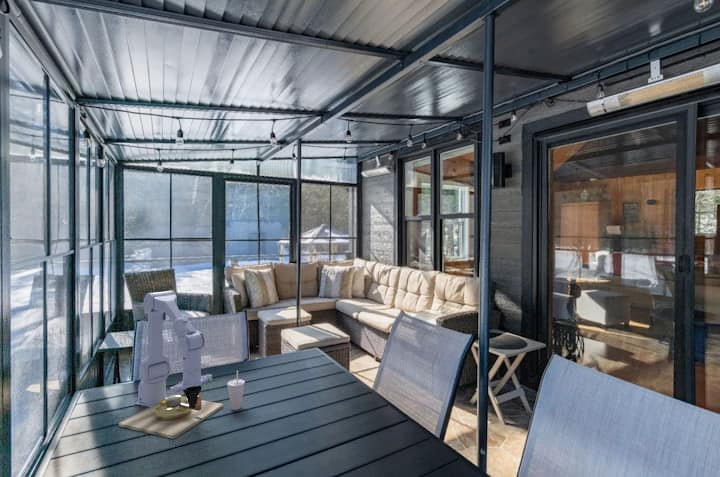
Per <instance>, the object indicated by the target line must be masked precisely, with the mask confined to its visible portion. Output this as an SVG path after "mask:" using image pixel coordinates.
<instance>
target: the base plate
mask: <svg viewBox="0 0 720 477" xmlns="http://www.w3.org/2000/svg"><path fill="white" fill-rule="evenodd" d="M176 395H177V394H174V395H173V394H172V395H170V396H168V397H167V399H166V406H169V407H173V406H177V405H179V404H180V403H181V397H183V396H182V395H181V397H179V396H176ZM185 397H186V396H185ZM186 398H187V397H186ZM201 400H202V407H201V410H199V411H197V410H193V409H192V411H191V412H190V413H189V414H188V415H186V416H184V417H182V418H179V419H175V420H169V421H163V420H158V419H156V418H155V406H156V405H157V404H158V403H157V404H155V405H153V406H151V407H147V408H145V409H143V410H142V411H140V412H138V413H136V414H133V415H132V416H130V417H127V418H125V419H124V420H123V421H120V422H118V427H121V428H124V429H129V430H133V431H137V432H141V433H146V434H151V435H155V436H160V437H164V438H167V439H173V440H174V439H176V438H178V437H179V436H181V435H182V434H184V433H185V432H187V431H188V430H190V429H191V428H194V427H195V426H197V424H199V423H201V422H202V421H204V420H206V419H207V418H209V417H211V415H213V414H215V413H216V412H218V411H219V410H221V409H222V408H224V404H223V403H219V402H214V401H208V400H203V399H201Z"/></svg>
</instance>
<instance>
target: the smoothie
mask: <svg viewBox="0 0 720 477" xmlns="http://www.w3.org/2000/svg"><path fill="white" fill-rule="evenodd" d="M245 382H246V381H245V380H244V379H241V378H240V379H239V370H236V379H235V378H234V379H232V380H229V381H228V382H227V383H226V384H227V385H226V386H227V387H226V388H227V389H228V396H229V403H230V405H229V406H230V410H232V411H238V410H240V409H241V408H242V404H243V397H244V389H245V388H244V386H245V385H246V383H245Z"/></svg>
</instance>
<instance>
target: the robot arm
mask: <svg viewBox="0 0 720 477" xmlns="http://www.w3.org/2000/svg"><path fill="white" fill-rule="evenodd" d="M177 304H178V296H177V293H176V292H175V291H174V290H172V289H171V290H167V291H166V290H165V291H159V292H158V291H157V292H148V293H146V294H145V295H144V297H143V313H144V314H146V315H147V340H148V341H147V342H148V343H147V345H148V348H147V349H148V354H147V355H146V357H144V358H143V359H142V360H141V361H140V366H139V370H138V375H139V380H140V382H139V384H138V388H137V394H138V395H137V396H138V397H137V402H136V405H137V406H142V407H147V408H149V407H151V406H153V405H155V404H157V403H159V401H160V400H162V399H167V398H168V397H167V386H166V384H167V381H166V380H167V379H168V377H169V375H171V372H172V366H171V361H170V357H169V356H168V355H166V354H164V345H163V342H164V341H163V340H164V336H163V334H164V333H163V332H164V331H163V328H164V327H163V315H164V314H166V315H167V317H168V318H169V320H170V321H171V323H173V324H172V325H171V328H172V331H174V334H175V335H176V337H177V339H178V340H179V342H178V343H179V350H180V354H181V357H182V381H180V382H178V383H177V384H175V385H173V386H171V387H170V388H169V390H170V391H169V393H170V394H171V395H172V396H173V395H177V393H178V392H179V393H180V392H183V393H184V396H185V397H187V399H188V402H189V407H190V408H192V409H193V408H195V403H196V400H197V397H198V395H200V392H201V391H202V388H203V387H202V384H204V383H207V382H211V381H213V375H212V374H209V373H207V374H205V375H202V349H203V348H204V347H205V343H206V342H205V336H204V335H203V332H201V331H198V330H196V329H195V327H194V326H193V325H192V323H191V322H190V320H189V318H187V317H183V314H182V313H181V311H180V308H179V307H178V305H177Z"/></svg>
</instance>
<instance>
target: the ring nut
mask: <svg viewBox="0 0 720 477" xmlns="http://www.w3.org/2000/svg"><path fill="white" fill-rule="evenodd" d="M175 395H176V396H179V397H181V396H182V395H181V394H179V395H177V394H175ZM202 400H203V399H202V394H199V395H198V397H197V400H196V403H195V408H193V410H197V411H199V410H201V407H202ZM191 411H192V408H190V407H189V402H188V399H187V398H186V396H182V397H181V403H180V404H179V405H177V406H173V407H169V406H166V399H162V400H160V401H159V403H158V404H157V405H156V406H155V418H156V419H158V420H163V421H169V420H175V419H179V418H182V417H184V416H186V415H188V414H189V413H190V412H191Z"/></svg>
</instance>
